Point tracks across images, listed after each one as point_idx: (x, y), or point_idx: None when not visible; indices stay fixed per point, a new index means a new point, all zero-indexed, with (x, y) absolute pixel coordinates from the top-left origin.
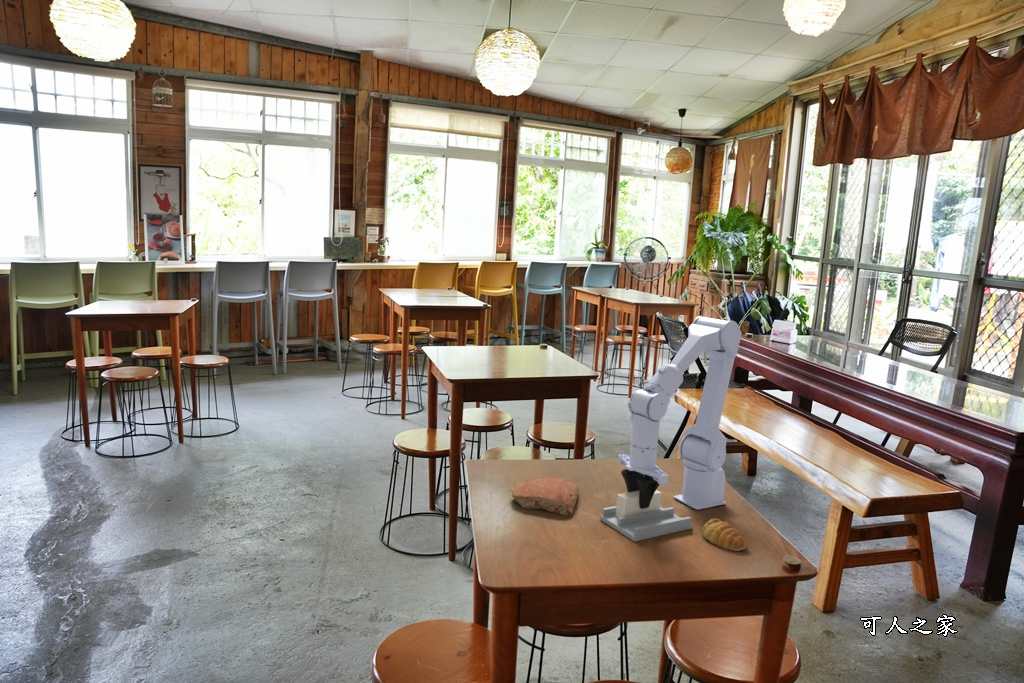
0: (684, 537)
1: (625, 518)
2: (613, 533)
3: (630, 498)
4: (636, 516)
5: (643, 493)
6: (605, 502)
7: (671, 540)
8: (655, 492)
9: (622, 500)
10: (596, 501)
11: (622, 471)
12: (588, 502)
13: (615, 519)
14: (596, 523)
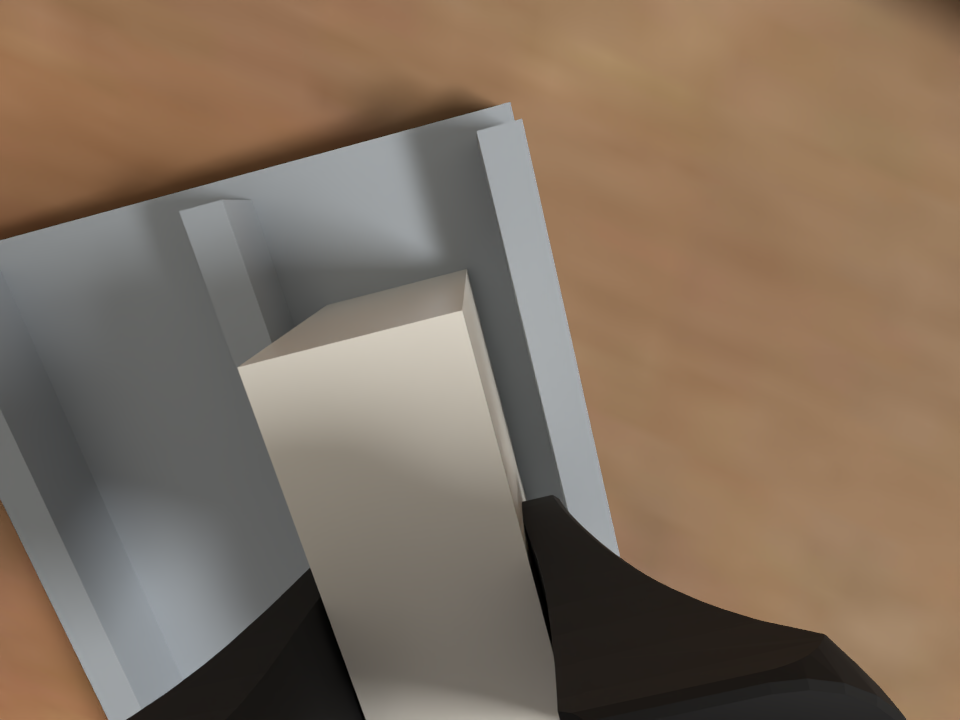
0: (84, 694)
1: (209, 285)
2: (173, 118)
3: (271, 454)
4: (260, 433)
5: (180, 688)
6: (897, 344)
7: (26, 578)
8: None
9: (329, 335)
10: (950, 260)
11: (789, 695)
12: (954, 160)
13: (381, 231)
14: (423, 28)
